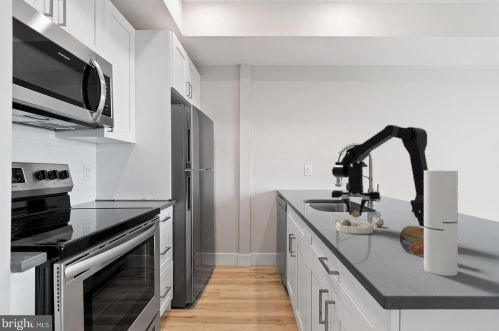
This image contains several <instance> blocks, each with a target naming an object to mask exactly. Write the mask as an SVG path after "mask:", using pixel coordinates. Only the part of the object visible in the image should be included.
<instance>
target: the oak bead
mask: <svg viewBox="0 0 499 331" xmlns="http://www.w3.org/2000/svg"><path fill="white" fill-rule="evenodd" d="M350 216H351V217H353V218H354V219H357V218H359V217H361V216H360V209H359V210H358V209H356V208H354V209H351V215H350Z"/></svg>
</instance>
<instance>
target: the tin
mask: <svg viewBox="0 0 499 331" xmlns="http://www.w3.org/2000/svg"><path fill="white" fill-rule="evenodd" d="M399 243H400V245H401V247H402V249H403V250H404V251H405V252H406V253H408V254H410V255H413V256H417V257H419V258H420V257H421V258H423V259H424V227H423V226H418V225H407V226H405V227H404V228H402V230H401V232H400V234H399Z"/></svg>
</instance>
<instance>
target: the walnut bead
mask: <svg viewBox="0 0 499 331" xmlns="http://www.w3.org/2000/svg"><path fill="white" fill-rule="evenodd" d="M342 221H343V222H342V225H343V226H349V227H351V222H350V221H351V220H348V219H344V220H342Z"/></svg>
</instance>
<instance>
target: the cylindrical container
mask: <svg viewBox="0 0 499 331" xmlns="http://www.w3.org/2000/svg"><path fill="white" fill-rule="evenodd" d="M458 173H459V172H458V170H445V169H444V170H442V169H441V170H440V169H439V170H437V169H436V170H435V169H434V170H429V169H428V170H424V227H423V228H424V258H423V269H424V271H425V272H428V273H431V274H435V275H439V276H443V277H453V276H457V275H458V272H459V271H458V269H459V268H458V266H459V265H458V264H459V262H458V260H459V256H458V255H459V252H458V249H459V248H458V246H459V242H458V240H459V236H458V235H459V234H458V233H459V232H458V228H459V226H458V224H459V222H458V220H459V218H458V214H459V213H458V212H459V210H458V209H459V208H458V207H459V206H458V204H459V203H458V202H459V201H458V200H459V198H458V197H459V194H458V193H459V192H458V191H459V190H458V189H459V188H458V186H459V180H458V179H459V178H458V176H459V174H458Z"/></svg>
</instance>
